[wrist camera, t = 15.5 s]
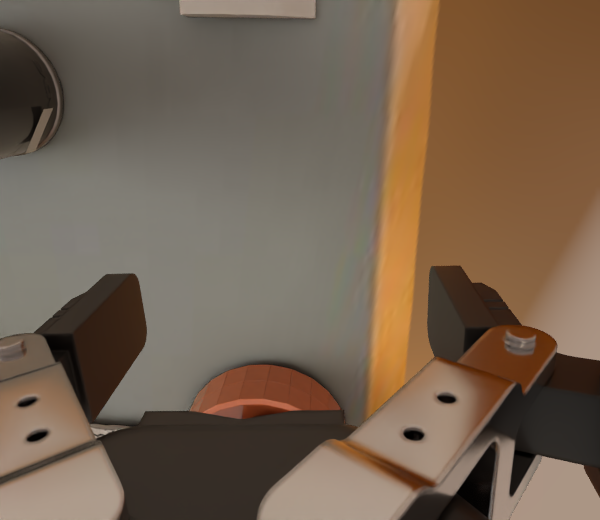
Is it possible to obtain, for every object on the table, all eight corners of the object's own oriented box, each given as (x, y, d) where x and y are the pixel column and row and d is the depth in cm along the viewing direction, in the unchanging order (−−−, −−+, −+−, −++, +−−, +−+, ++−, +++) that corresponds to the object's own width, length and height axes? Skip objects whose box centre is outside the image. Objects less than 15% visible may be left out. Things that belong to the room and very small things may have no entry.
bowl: (200, 489, 53) (185, 539, 47) (179, 361, 48) (159, 400, 42) (348, 488, 52) (350, 540, 46) (343, 357, 46) (345, 397, 41)
